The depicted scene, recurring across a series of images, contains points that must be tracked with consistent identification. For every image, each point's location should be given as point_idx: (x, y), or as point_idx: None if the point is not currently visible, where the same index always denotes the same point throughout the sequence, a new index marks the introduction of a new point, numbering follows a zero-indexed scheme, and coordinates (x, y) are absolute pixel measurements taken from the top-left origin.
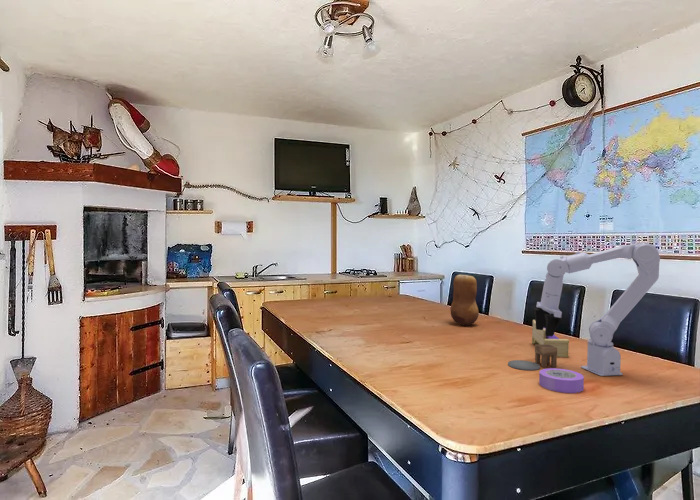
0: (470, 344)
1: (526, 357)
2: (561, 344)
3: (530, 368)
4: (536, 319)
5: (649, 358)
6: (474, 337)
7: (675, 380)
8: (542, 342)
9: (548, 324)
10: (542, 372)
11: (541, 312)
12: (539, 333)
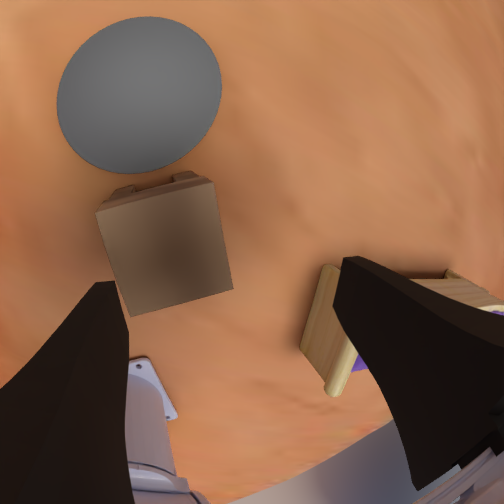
0: (454, 48)
1: (305, 170)
2: (333, 358)
3: (60, 106)
4: (421, 303)
5: (275, 480)
6: (500, 116)
7: None
8: None
9: (14, 384)
10: None
11: (462, 416)
12: None
